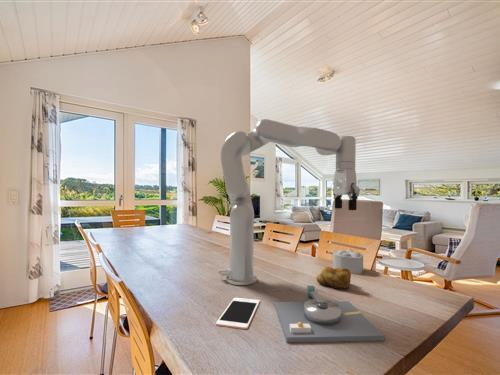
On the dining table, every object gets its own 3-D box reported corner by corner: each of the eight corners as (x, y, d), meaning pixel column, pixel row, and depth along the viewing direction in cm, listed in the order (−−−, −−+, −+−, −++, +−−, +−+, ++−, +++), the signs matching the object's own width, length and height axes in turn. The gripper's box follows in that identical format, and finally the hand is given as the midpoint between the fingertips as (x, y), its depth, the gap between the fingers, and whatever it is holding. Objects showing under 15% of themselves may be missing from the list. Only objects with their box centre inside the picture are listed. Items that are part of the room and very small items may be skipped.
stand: (286, 342, 63) (286, 328, 63) (274, 305, 83) (274, 295, 83) (383, 340, 64) (384, 327, 64) (348, 304, 84) (348, 294, 84)
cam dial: (347, 324, 68) (347, 309, 69) (309, 325, 68) (309, 309, 68) (325, 297, 86) (325, 285, 86) (294, 298, 85) (295, 285, 85)
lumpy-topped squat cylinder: (360, 275, 115) (360, 255, 115) (330, 270, 122) (330, 251, 122) (364, 269, 124) (364, 250, 124) (336, 264, 130) (336, 247, 130)
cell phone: (260, 302, 86) (260, 299, 86) (247, 331, 68) (247, 327, 68) (234, 300, 88) (234, 297, 88) (215, 326, 70) (215, 323, 70)
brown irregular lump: (314, 286, 100) (314, 265, 101) (319, 278, 109) (319, 259, 109) (350, 292, 95) (350, 270, 95) (352, 284, 103) (352, 263, 103)
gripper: (326, 168, 114) (325, 207, 113) (350, 164, 97) (349, 210, 97) (341, 169, 115) (341, 207, 115) (367, 165, 99) (367, 210, 98)
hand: (345, 209), depth 106 cm, fingers open, 9 cm apart
